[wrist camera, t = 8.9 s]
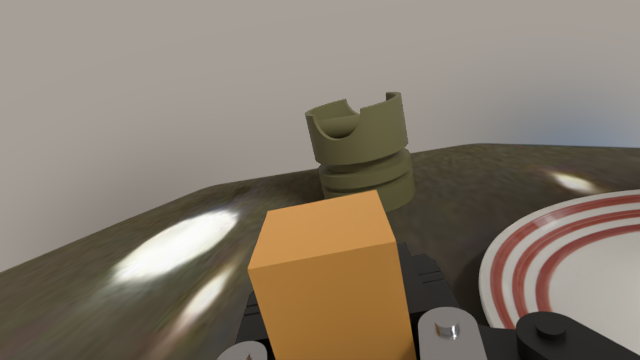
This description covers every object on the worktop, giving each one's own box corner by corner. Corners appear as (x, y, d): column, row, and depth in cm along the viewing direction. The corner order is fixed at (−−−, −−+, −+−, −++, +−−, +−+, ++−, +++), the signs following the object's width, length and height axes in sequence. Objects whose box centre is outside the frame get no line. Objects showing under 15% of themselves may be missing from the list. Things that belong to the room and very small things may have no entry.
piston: (383, 107, 38) (287, 120, 43) (402, 217, 42) (311, 217, 47) (411, 87, 47) (329, 100, 53) (424, 178, 51) (346, 182, 56)
